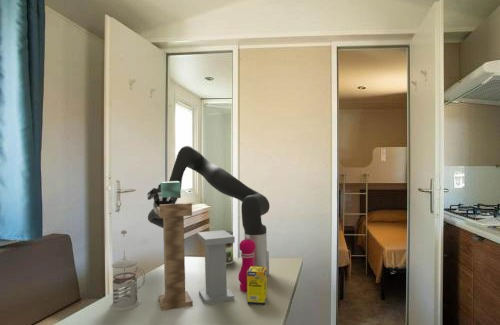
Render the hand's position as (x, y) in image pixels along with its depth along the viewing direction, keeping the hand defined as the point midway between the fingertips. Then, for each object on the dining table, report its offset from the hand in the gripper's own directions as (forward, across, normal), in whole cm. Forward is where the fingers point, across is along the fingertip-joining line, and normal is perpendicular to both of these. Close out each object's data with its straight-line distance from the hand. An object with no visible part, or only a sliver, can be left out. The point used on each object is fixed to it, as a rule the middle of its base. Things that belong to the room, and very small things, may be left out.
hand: (166, 185), depth 134 cm
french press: (-8, -15, +40) cm, 44 cm away
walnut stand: (-4, 0, +42) cm, 43 cm away
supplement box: (+5, +26, +48) cm, 54 cm away
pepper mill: (-6, +27, +42) cm, 50 cm away
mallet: (+2, 0, +5) cm, 6 cm away
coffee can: (-40, +28, +22) cm, 53 cm away
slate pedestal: (-3, +14, +43) cm, 45 cm away
